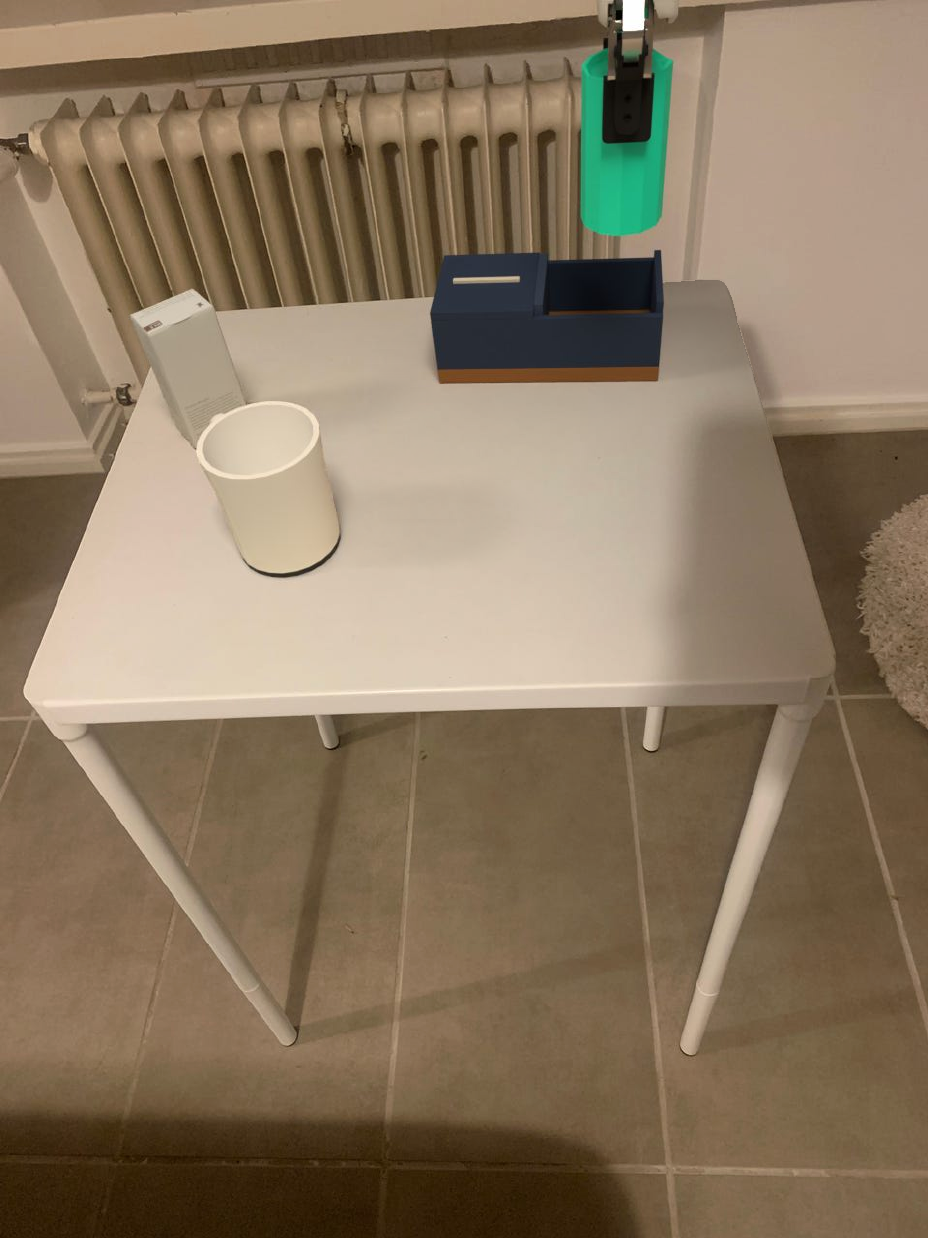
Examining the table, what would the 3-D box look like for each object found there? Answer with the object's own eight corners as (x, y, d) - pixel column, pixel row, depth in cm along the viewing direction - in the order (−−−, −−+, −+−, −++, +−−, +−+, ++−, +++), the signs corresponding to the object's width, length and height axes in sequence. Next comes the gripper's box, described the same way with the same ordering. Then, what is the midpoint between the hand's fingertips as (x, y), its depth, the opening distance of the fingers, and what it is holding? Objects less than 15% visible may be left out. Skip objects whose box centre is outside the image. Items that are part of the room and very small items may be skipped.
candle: (661, 235, 67) (675, 50, 58) (577, 236, 68) (578, 54, 59) (662, 196, 71) (675, 17, 62) (583, 198, 72) (584, 21, 63)
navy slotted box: (655, 320, 90) (660, 245, 84) (658, 381, 83) (664, 304, 78) (451, 324, 93) (443, 251, 87) (439, 383, 86) (429, 309, 80)
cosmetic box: (233, 402, 87) (193, 283, 78) (255, 424, 85) (216, 303, 75) (173, 430, 85) (126, 311, 76) (194, 453, 82) (147, 333, 73)
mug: (369, 537, 73) (344, 432, 66) (280, 600, 70) (243, 497, 62) (286, 479, 79) (255, 376, 71) (200, 534, 75) (157, 433, 68)
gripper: (723, -208, 44) (688, 173, 58) (699, -260, 56) (674, 69, 69) (566, -193, 45) (567, 178, 59) (573, -247, 57) (573, 75, 70)
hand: (625, 117), depth 64 cm, fingers closed on candle, 6 cm apart
